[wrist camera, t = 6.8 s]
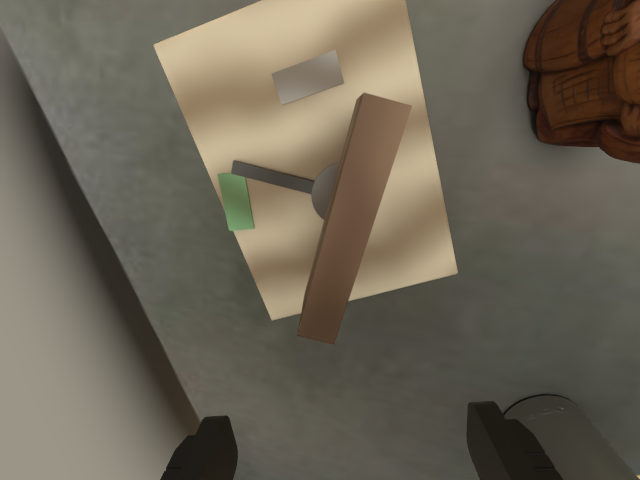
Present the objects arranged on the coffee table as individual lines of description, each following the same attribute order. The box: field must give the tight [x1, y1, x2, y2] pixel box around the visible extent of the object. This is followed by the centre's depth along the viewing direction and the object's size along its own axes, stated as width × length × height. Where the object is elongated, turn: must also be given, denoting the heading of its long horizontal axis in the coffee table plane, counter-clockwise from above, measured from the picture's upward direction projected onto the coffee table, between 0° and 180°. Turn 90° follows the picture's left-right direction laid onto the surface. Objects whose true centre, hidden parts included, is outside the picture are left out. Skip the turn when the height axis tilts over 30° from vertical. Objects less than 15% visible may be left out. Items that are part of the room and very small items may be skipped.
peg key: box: [231, 93, 412, 344], centre depth 19 cm, size 10×12×9 cm
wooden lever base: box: [153, 0, 458, 320], centre depth 26 cm, size 22×16×5 cm
